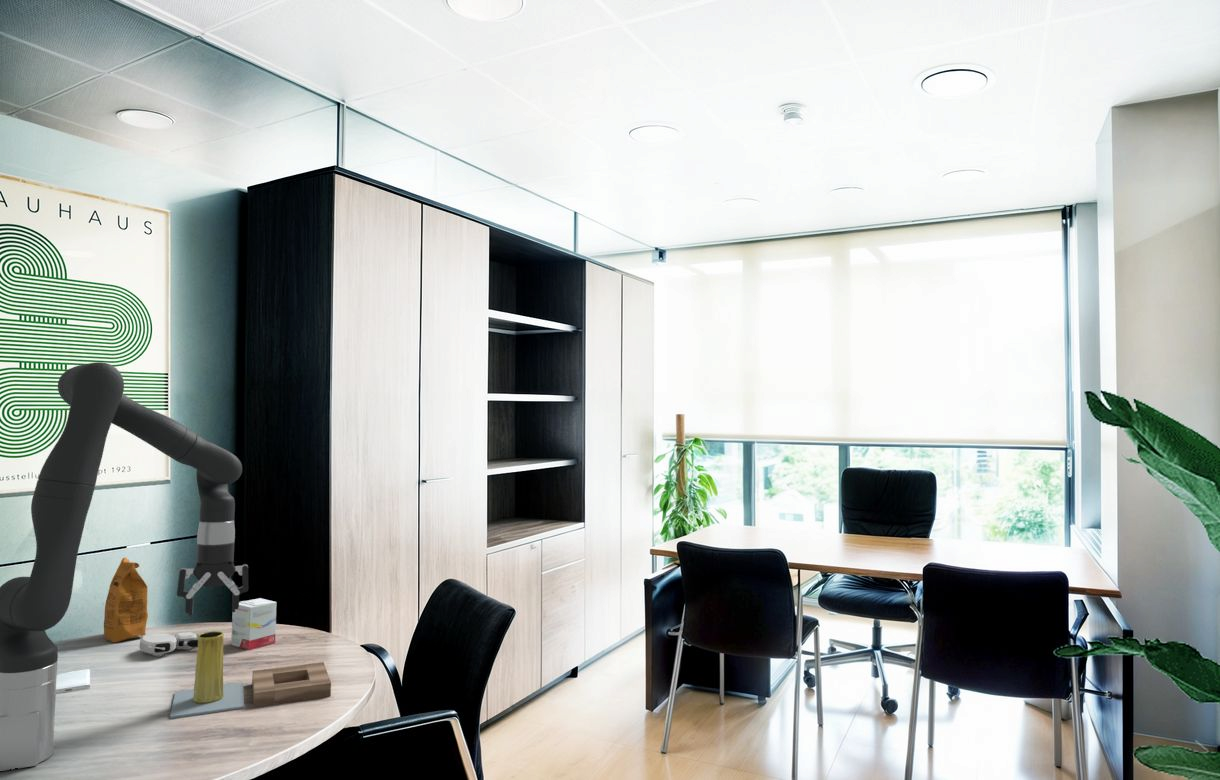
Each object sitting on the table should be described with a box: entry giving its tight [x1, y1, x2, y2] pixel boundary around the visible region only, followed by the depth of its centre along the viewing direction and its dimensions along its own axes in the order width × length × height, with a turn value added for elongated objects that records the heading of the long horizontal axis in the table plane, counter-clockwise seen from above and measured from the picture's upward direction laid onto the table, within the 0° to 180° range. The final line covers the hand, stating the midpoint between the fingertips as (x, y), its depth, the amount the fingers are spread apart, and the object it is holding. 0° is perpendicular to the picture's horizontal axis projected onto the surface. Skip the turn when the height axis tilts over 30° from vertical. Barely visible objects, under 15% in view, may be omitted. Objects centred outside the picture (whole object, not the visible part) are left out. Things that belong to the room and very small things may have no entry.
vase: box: [193, 630, 224, 703], centre depth 168 cm, size 6×6×14 cm
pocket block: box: [251, 661, 332, 708], centre depth 175 cm, size 16×16×3 cm
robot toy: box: [137, 631, 200, 657], centre depth 202 cm, size 12×4×15 cm
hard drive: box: [56, 668, 91, 695], centre depth 176 cm, size 2×8×12 cm
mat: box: [169, 682, 245, 720], centre depth 167 cm, size 16×14×1 cm
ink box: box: [230, 597, 277, 651], centre depth 210 cm, size 9×9×12 cm
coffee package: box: [103, 557, 149, 643], centre depth 214 cm, size 10×12×22 cm
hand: (212, 613), depth 168 cm, fingers open, 8 cm apart
